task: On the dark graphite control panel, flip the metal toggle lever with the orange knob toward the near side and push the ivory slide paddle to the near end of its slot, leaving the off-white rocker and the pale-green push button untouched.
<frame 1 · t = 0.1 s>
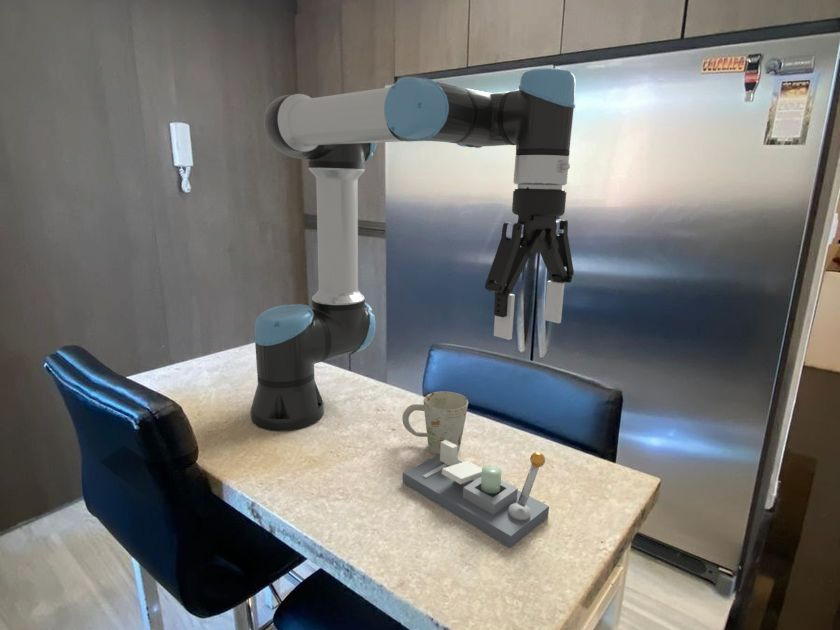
hand: (528, 329, 80), 28 cm above the counter, fingers open, 13 cm apart
mug: (433, 447, 100), on the counter
panel: (471, 499, 84), on the counter
slider: (448, 453, 89), point 4 cm above the counter, slide at 0.0 cm
button: (491, 479, 80), point 5 cm above the counter, slide at 0.0 cm
rocker: (464, 472, 84), point 4 cm above the counter, hinge at -10.0°
lever: (530, 478, 77), point 7 cm above the counter, hinge at -30.0°
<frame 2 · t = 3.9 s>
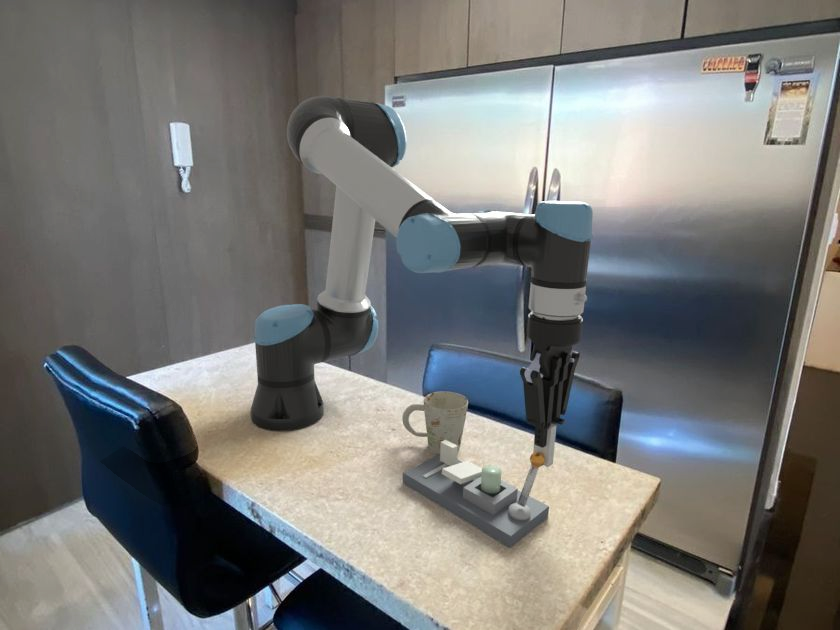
hand: (542, 462, 79), 8 cm above the counter, fingers closed
lever: (530, 478, 77), point 7 cm above the counter, hinge at -29.3°, touching gripper
everything else where it was.
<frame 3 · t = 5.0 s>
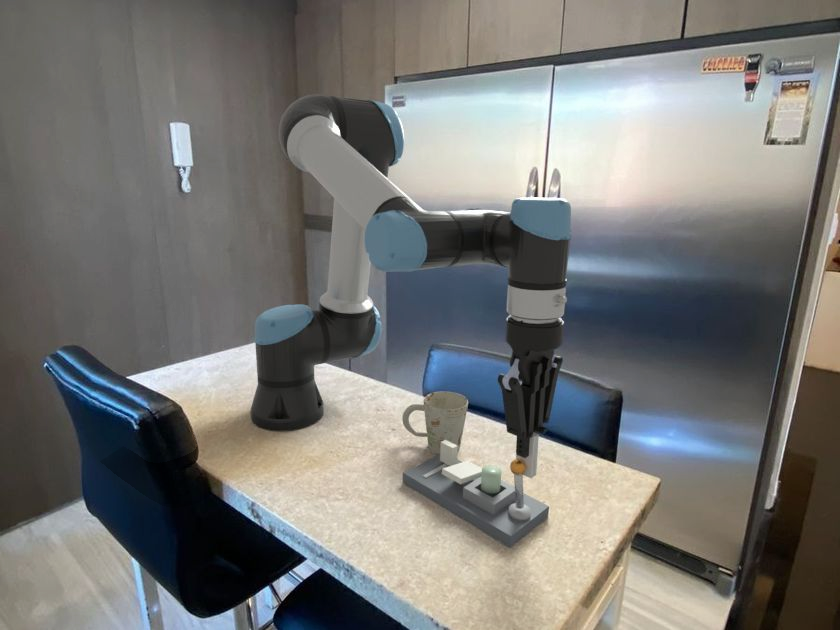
hand: (525, 473, 75), 9 cm above the counter, fingers closed
lever: (518, 483, 75), point 8 cm above the counter, hinge at 11.2°, touching gripper
everything else where it was.
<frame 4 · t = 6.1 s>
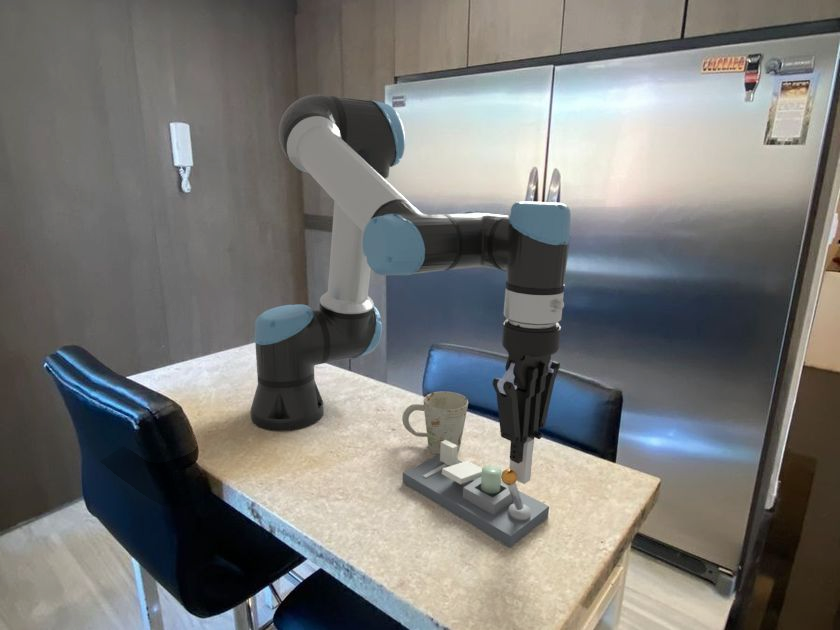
hand: (519, 478, 75), 8 cm above the counter, fingers closed
lever: (513, 489, 74), point 7 cm above the counter, hinge at 27.6°
everything else where it was.
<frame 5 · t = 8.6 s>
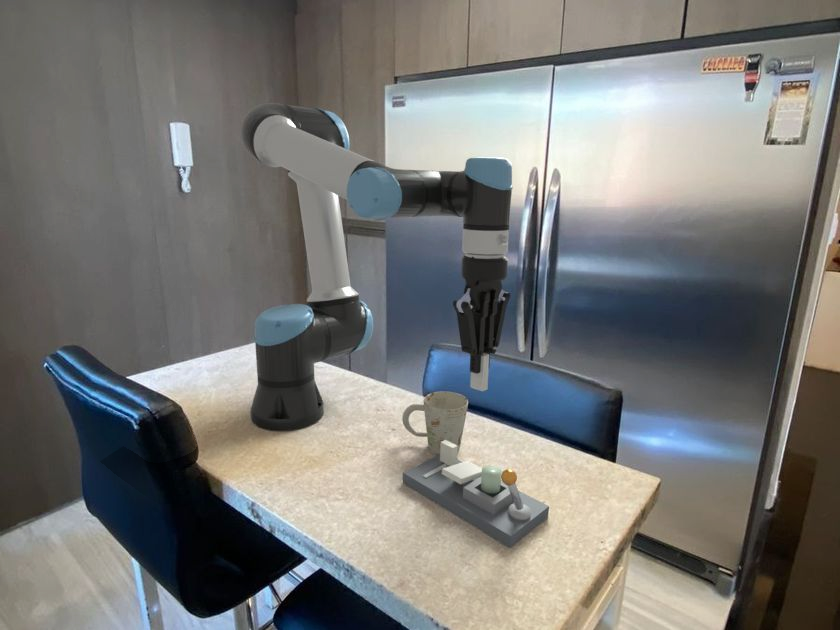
hand: (478, 388, 91), 14 cm above the counter, fingers closed
nothing on the counter moved.
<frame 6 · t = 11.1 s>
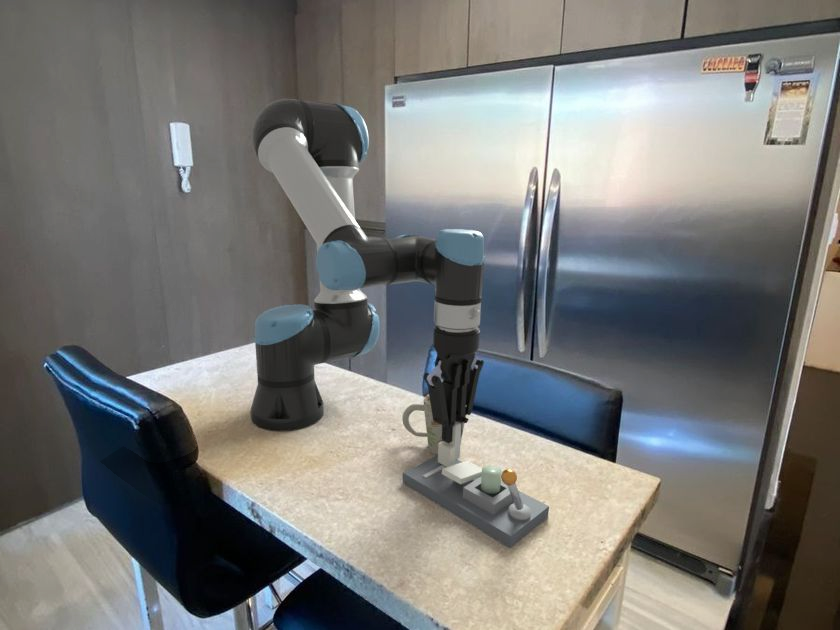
hand: (451, 455, 90), 3 cm above the counter, fingers closed
slider: (446, 454, 89), point 4 cm above the counter, slide at 0.6 cm, touching gripper
everything else where it was.
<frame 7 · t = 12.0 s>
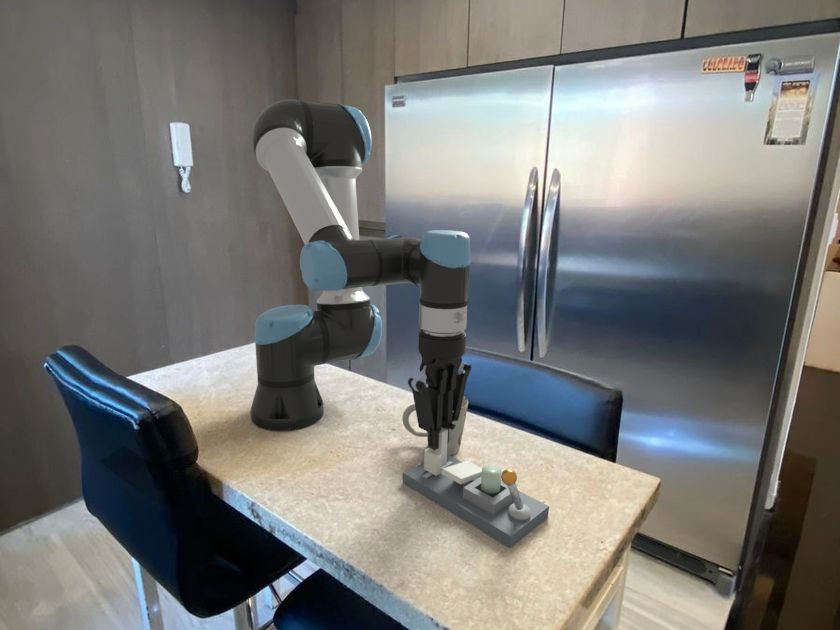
hand: (437, 463, 88), 3 cm above the counter, fingers closed
slider: (432, 461, 87), point 4 cm above the counter, slide at 4.0 cm, touching gripper
everything else where it was.
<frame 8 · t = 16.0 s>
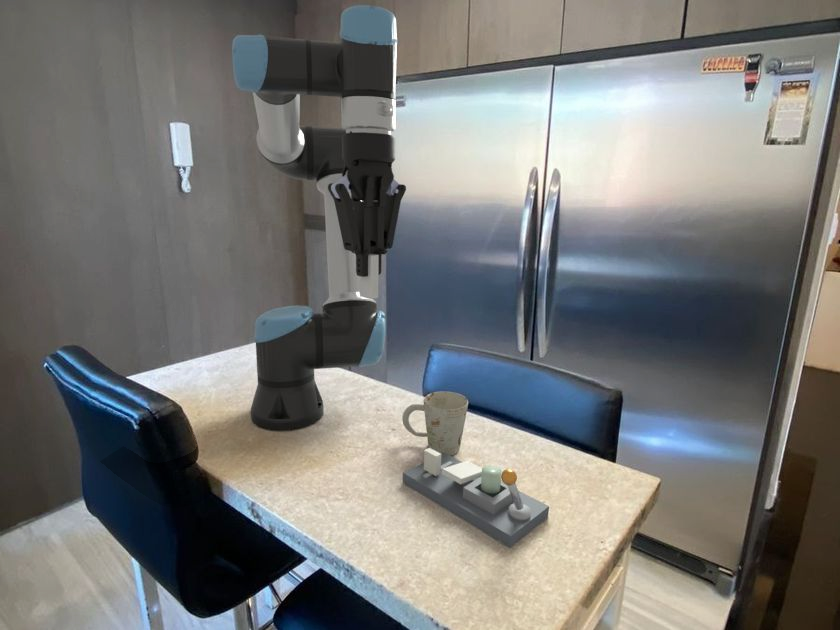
hand: (368, 296, 79), 32 cm above the counter, fingers closed
slider: (432, 461, 87), point 4 cm above the counter, slide at 4.1 cm
everything else where it was.
at the end: lever at +28° (first picture: -30°); slider slide at 4.1 cm; button slide at 0.0 cm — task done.
